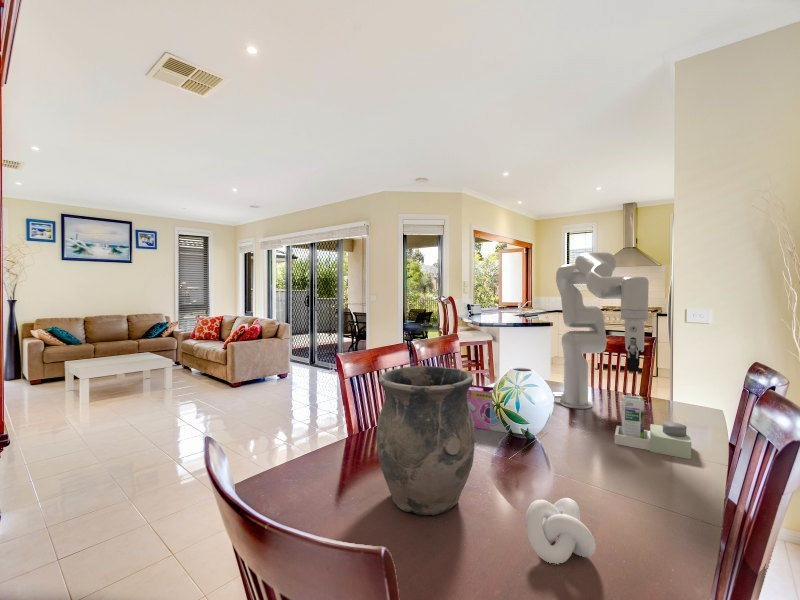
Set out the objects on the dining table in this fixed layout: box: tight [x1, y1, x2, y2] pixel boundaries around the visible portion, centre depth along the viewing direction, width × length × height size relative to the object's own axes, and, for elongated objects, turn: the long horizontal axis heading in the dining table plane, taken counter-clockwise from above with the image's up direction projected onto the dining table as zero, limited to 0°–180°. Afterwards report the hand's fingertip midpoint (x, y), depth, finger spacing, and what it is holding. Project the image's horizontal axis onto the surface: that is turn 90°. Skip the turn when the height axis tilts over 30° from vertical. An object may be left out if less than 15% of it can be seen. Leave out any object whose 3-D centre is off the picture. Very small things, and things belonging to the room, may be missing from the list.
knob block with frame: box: [614, 421, 692, 460], centre depth 124 cm, size 20×12×8 cm, turn 57°
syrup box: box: [621, 394, 645, 439], centre depth 127 cm, size 6×6×14 cm
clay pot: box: [375, 365, 476, 516], centre depth 92 cm, size 22×23×30 cm
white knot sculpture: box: [525, 497, 597, 565], centre depth 74 cm, size 11×12×9 cm
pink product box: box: [467, 384, 509, 434], centre depth 140 cm, size 24×8×14 cm, turn 63°
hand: (633, 368), depth 126 cm, fingers open, 9 cm apart
